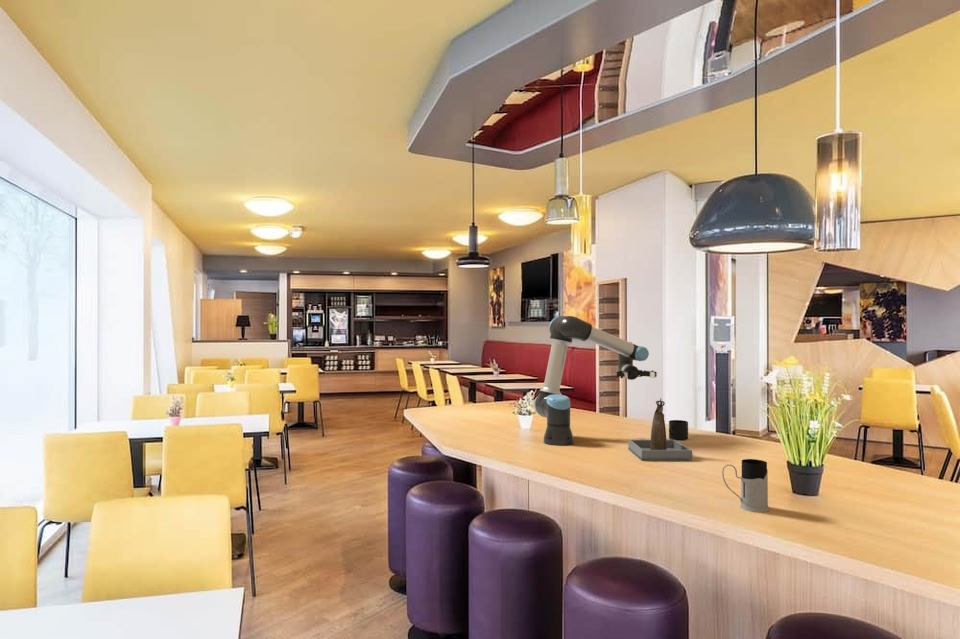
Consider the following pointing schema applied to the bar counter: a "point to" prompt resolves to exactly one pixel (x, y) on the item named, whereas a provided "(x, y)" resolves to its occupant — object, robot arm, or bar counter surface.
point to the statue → (658, 429)
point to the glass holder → (753, 485)
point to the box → (660, 451)
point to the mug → (678, 430)
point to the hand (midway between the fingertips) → (640, 375)
